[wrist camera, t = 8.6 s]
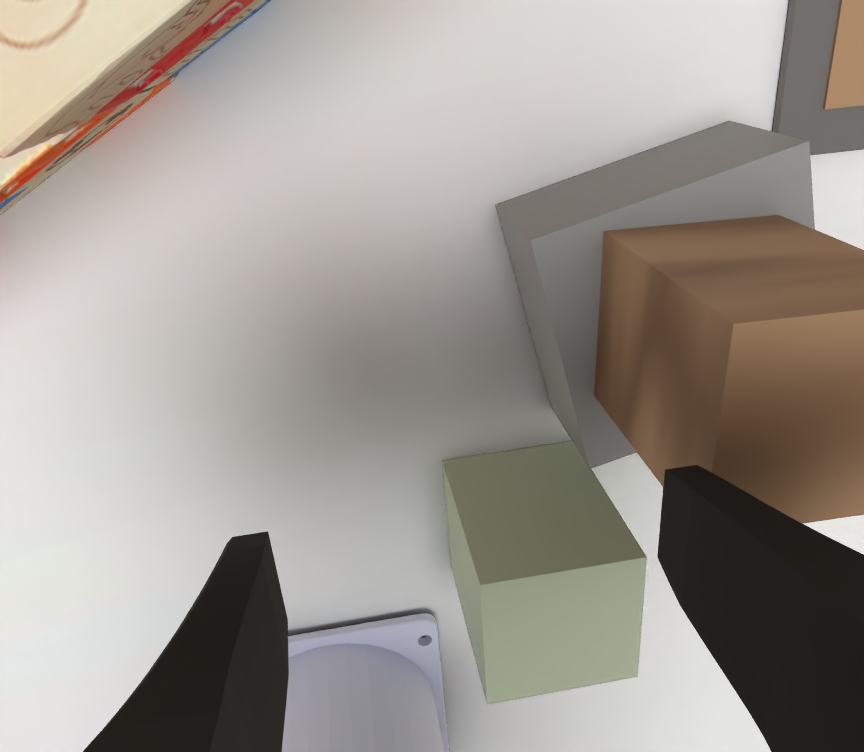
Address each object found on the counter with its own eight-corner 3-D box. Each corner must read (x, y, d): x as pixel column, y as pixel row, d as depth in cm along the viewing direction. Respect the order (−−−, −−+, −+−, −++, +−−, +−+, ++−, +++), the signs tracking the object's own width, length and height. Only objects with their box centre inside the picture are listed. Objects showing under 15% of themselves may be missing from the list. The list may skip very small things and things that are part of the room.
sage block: (571, 544, 27) (637, 676, 21) (450, 564, 26) (487, 704, 21) (572, 440, 25) (646, 557, 19) (442, 459, 24) (480, 585, 19)
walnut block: (751, 377, 20) (912, 507, 15) (593, 395, 19) (702, 538, 14) (778, 214, 18) (976, 297, 13) (603, 230, 17) (733, 323, 12)
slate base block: (748, 331, 24) (823, 385, 20) (548, 401, 24) (589, 468, 21) (724, 119, 21) (809, 140, 17) (493, 202, 21) (530, 240, 17)
